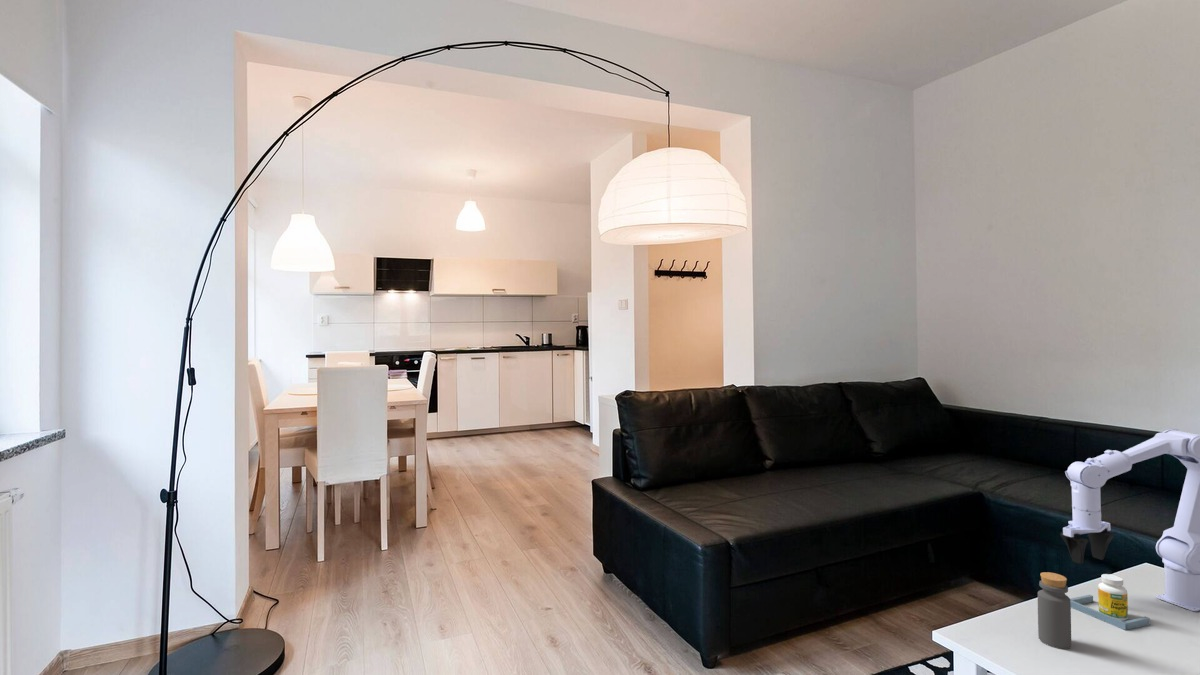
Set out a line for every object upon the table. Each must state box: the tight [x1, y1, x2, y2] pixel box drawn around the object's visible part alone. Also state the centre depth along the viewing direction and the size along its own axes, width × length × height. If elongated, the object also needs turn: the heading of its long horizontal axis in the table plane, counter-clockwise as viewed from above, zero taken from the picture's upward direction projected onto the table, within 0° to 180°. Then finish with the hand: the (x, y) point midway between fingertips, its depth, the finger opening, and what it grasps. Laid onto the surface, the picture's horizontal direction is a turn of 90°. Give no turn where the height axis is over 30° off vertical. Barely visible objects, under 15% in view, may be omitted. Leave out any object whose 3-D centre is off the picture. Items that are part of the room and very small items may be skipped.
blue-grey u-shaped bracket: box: [1070, 594, 1151, 631], centre depth 138 cm, size 8×13×2 cm, turn 16°
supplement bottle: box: [1097, 573, 1129, 622], centre depth 138 cm, size 5×5×10 cm
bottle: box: [1037, 571, 1072, 650], centre depth 127 cm, size 6×6×15 cm
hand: (1087, 560), depth 146 cm, fingers open, 7 cm apart
